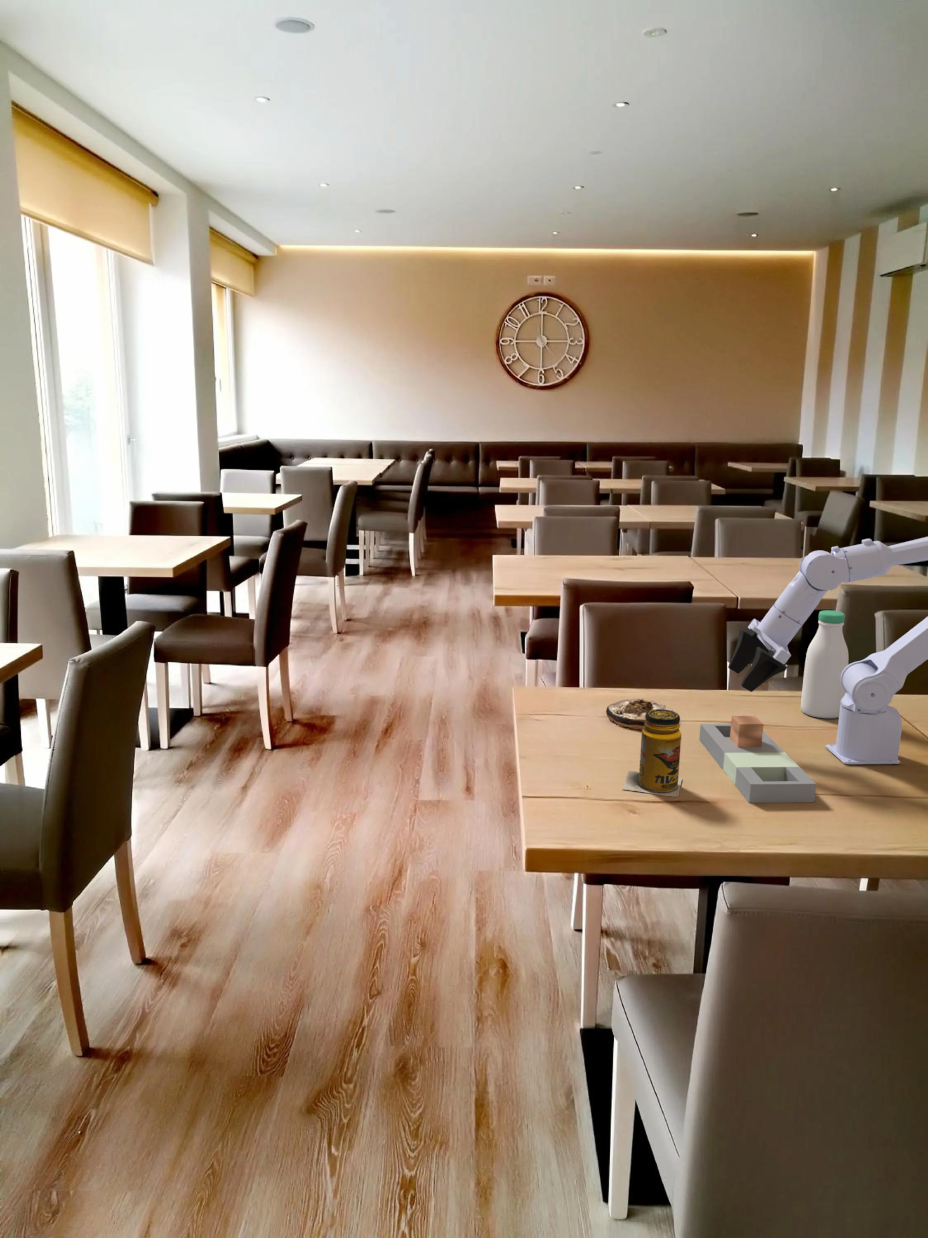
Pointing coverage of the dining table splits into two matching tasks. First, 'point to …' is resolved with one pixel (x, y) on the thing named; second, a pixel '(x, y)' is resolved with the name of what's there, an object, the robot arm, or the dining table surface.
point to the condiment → (658, 755)
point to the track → (758, 768)
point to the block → (746, 731)
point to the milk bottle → (825, 668)
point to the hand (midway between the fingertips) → (739, 679)
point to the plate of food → (631, 712)
